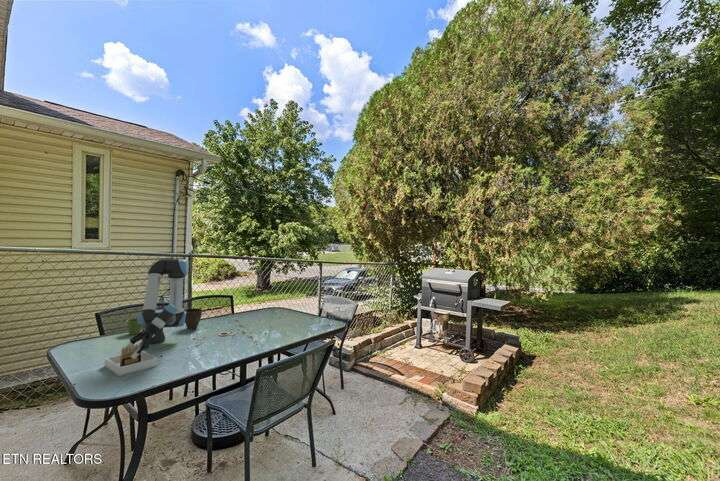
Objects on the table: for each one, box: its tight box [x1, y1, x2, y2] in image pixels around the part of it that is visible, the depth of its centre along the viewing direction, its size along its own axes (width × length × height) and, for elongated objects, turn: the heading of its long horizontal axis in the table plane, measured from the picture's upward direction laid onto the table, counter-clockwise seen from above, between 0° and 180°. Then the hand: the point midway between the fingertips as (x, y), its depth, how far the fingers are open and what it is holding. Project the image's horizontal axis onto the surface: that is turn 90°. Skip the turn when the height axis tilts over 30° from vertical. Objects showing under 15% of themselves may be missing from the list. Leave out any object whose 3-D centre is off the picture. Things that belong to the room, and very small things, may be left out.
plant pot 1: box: [126, 317, 143, 336], centre depth 256 cm, size 12×12×11 cm
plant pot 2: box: [184, 308, 203, 330], centre depth 278 cm, size 15×15×16 cm
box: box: [103, 350, 158, 377], centre depth 195 cm, size 22×20×5 cm
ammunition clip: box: [120, 343, 142, 367], centre depth 195 cm, size 11×2×12 cm, turn 146°
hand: (127, 355), depth 193 cm, fingers open, 13 cm apart
